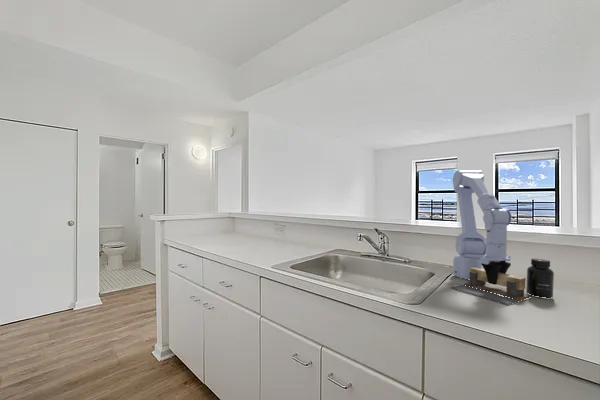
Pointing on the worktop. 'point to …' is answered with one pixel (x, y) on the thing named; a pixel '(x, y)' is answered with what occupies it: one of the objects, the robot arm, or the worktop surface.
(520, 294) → the stand
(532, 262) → the supplement bottle
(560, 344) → the worktop surface
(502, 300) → the mat
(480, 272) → the rail
